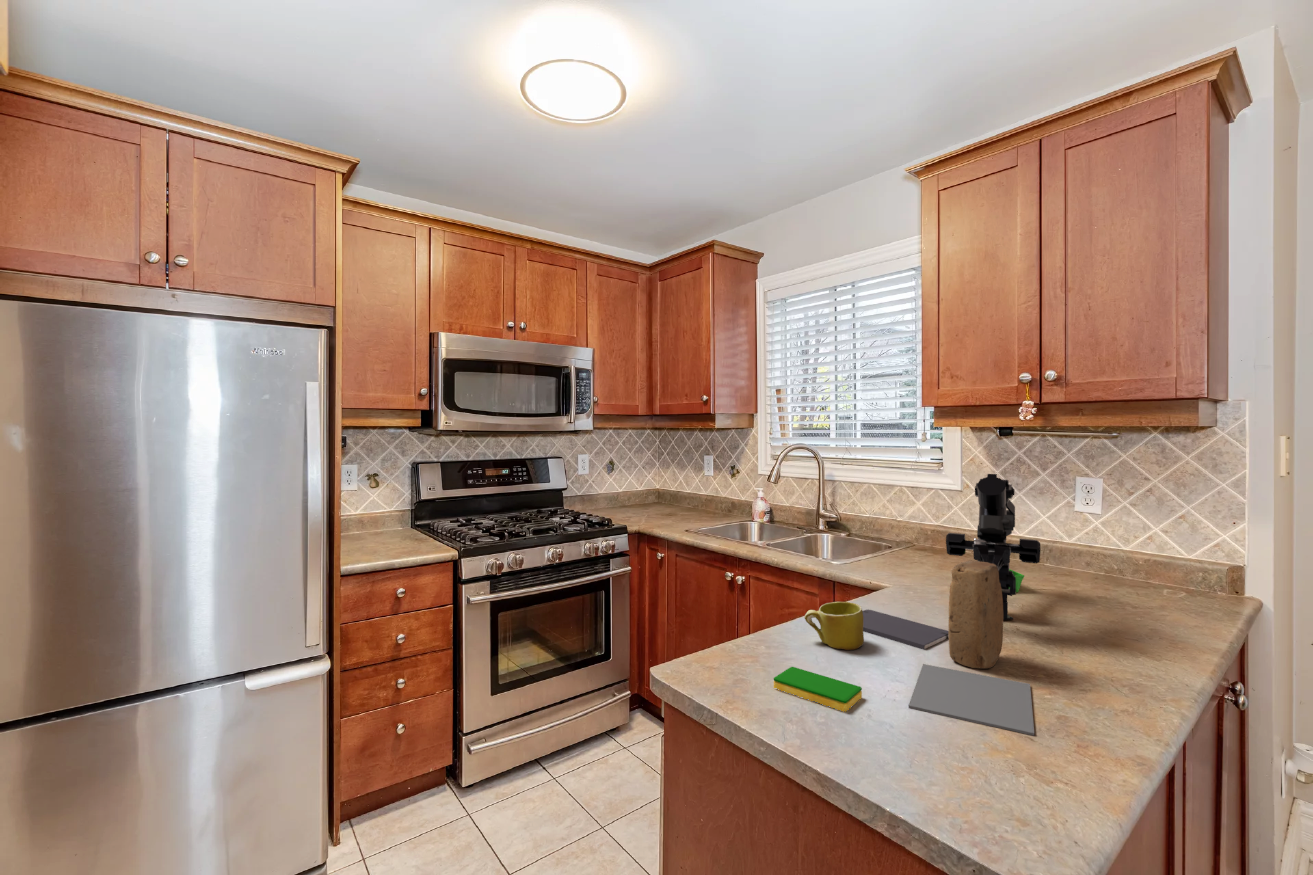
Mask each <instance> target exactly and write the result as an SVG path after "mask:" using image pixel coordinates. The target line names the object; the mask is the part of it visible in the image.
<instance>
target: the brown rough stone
mask: <svg viewBox="0 0 1313 875" xmlns="http://www.w3.org/2000/svg"><path fill="white" fill-rule="evenodd" d="M977 561H978V560H973V559H972V560H967V561H963V562H961V561H960V563H957V564H956V565H955V566H954V567H952V569H951V583H950V585H949V596H948V631H949V632H948V633H949V638H948V651H949V657H950V659H951V660H952V661H954V662H956V663H958V664H960V665H962V666H965V667H968V668H972V669H982V670H983V669H991V668H993V667H994V666H995V665H996V664H997V662H998V660H999V657H1000V654H1001V653H1002V650H1003V649H1002V647H1003V638H1004V635H1003V634H1004V620H1003V598H1002V588H1001V584H1000V582H999V571H998V567H997V566H996V565H995V564H992V563H988V562H980V561H978V562H977Z"/></svg>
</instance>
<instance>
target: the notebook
mask: <svg viewBox="0 0 1313 875" xmlns="http://www.w3.org/2000/svg"><path fill="white" fill-rule="evenodd" d="M862 612H863V633H868V634H871V635H874V636H877V637H881V638H884V639H887V640H891V641H893V642H896V643H900V644H902V645H903V644H904V645H907V646H909V647H913V648H917V649H919V650H923V651H925V650H926V649H928V648H930V647H932V646H934V645H936V644H938V643H941V642H942V641H945V640H949V633H948V632H949V630H946V629H942V628H939V627H935V626H932V625H928V624H923V623H921V622H917V621H913V620H909V619H906V618H902V617H899V616H894V615H891V614H887V613H884V612H880V611H876V610H872V609H865V610H862Z"/></svg>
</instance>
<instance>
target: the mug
mask: <svg viewBox="0 0 1313 875" xmlns="http://www.w3.org/2000/svg"><path fill="white" fill-rule="evenodd" d="M862 611H863V608H862V606H861V605H860V604H857V603H854V602H849V601H833V602H826V603H824V604H822V605H821V606H820V607H819V609H818V610H815V609H809V610H808V611H807V612H806V613H805V615H804V620H805V621H806V623H808V625H809V626H810V627H812V629H814V630H815V631H816V633H817V634H818V638H820V640H821V642H822V643H823V644H825V645H828V646H829V647H831V648H834V649H837V650H838V649H839V650H841V649H842V650H845V651H854V650H857V649H860V647H863V645H864V642H865V638H864V637H865V636H864V631H863V612H862ZM813 618H815V619H816V620H817V622H818V624H819V625H820V628H819V626H817V624H816V623H815V622H814V621H813V620H812V619H813Z"/></svg>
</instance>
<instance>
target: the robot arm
mask: <svg viewBox="0 0 1313 875" xmlns="http://www.w3.org/2000/svg"><path fill="white" fill-rule="evenodd" d="M986 475H987V476H986V477H983V478H980V479H979V481H978V482H976V483H975V486H974V495H975V497H976V498H977V500H978V501H977V502H978V505H979V508H978V509H979V510H978V525H977V529H976V530H977V532H976V533H977V534H976V537H977V538H973V540H969V539H968V540H967V539H966V534H965V533H960V532H948V533H946V535H945V548H946V554H948V555H949V556H955V557H957V556H958V557H963V556H964V555H966V553H967V552H966V550H969V551H970V550H971V551H972V554H973V555H972V556H973V561H977V562H978V561H980V562H988V563H992V564H995V565H996V566H997V567H998V571H999V582H1000V584H1001V588H1002V598H1003V621H1009V620H1014V617H1013V616H1011V615H1008V614H1009V613H1008V611H1009V610H1008V607H1009V602H1008V596H1010V597H1013V596H1015V595H1017V592H1016V577H1015V576H1014V575H1013V571H1014V570H1013V571H1009V569H1010V562H1011V554H1018V559H1019V561H1021V562H1022V563H1025V564H1026V563H1028V564H1039V563H1040V562H1041V542H1040V541H1039V540H1038V539H1034V538H1033V539H1032V538H1019V540H1018V541H1019V543H1008V542H1007V537H1008V536H1009V535H1012V534H1013V531H1014V528H1016V506H1015V504H1014V503H1013V502H1012V501H1011V500H1013V499H1012V498H1013V497H1014V496H1015V495H1016V494H1015V493H1016V492H1015V488H1014V487H1013V484H1011V483H1009V480H1008V479H1001V478H999V477H998V474H997V473H987V474H986ZM1009 588H1010V589H1009Z"/></svg>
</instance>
